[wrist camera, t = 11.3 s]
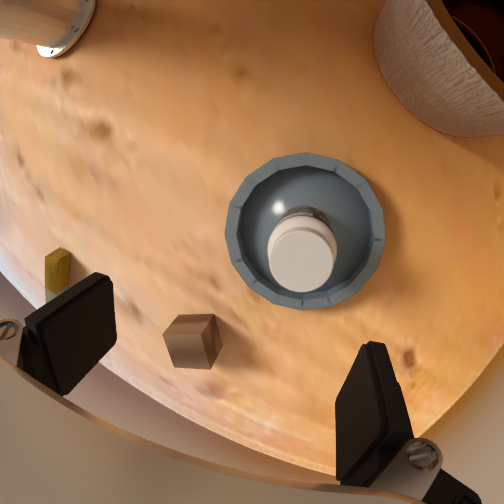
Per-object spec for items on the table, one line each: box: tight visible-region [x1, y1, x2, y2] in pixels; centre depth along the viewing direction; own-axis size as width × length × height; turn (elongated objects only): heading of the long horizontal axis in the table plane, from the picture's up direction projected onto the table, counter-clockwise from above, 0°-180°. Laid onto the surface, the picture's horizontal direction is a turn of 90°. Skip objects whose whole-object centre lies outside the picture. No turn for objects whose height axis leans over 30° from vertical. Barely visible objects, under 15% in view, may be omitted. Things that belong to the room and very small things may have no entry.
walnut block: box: [163, 314, 222, 369], centre depth 35 cm, size 5×5×5 cm
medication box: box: [45, 248, 70, 303], centre depth 38 cm, size 12×3×4 cm, turn 159°
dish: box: [225, 152, 386, 310], centre depth 30 cm, size 16×16×2 cm
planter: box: [374, 0, 504, 138], centre depth 14 cm, size 18×18×16 cm
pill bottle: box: [267, 206, 337, 292], centre depth 25 cm, size 6×6×10 cm
